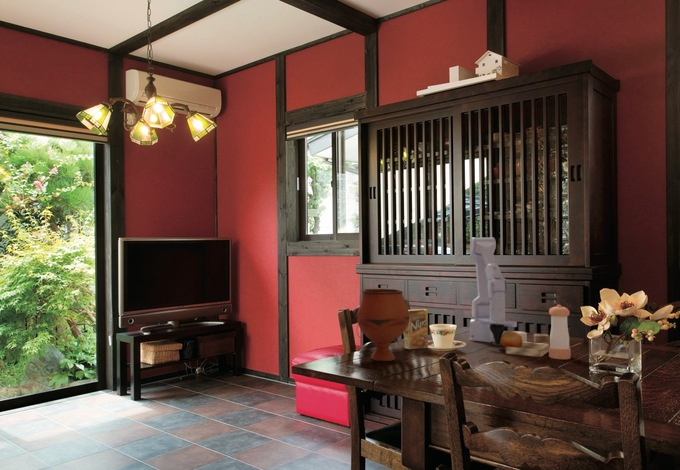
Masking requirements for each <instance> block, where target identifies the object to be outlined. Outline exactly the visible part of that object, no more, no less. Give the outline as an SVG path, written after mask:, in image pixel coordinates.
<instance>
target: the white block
mask: <svg viewBox="0 0 680 470" xmlns="http://www.w3.org/2000/svg"><path fill="white" fill-rule="evenodd" d="M513 332H516V333H518V334H519V335H520V336H521V337H522V342H528V341H527V339H528V337H527V335H528V334H527V332H526V331H517V330H515V331H513Z"/></svg>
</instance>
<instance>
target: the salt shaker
mask: <svg viewBox="0 0 680 470" xmlns="http://www.w3.org/2000/svg"><path fill="white" fill-rule="evenodd" d="M548 310H549V311H548V313H549V315H550V318H551V319H550V321H551V327H550V334H549V351H548V357H549V358H551V359H555V360H570V359H571V355H572V354H571V347H570V336H569V329H568V317H569V316H570V313H571V312H570V310H569V309H568V308H567V307H565V306H562V305H561V304H557V305H556V306H553V307H550V308H549V309H548Z"/></svg>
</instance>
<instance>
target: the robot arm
mask: <svg viewBox="0 0 680 470" xmlns="http://www.w3.org/2000/svg"><path fill="white" fill-rule="evenodd" d="M469 242H470V243H469V252H470V257H471V258H473V259H474V263H475V272H476V273H475V275H476V289H477V297H475V298H474V299H473V300H472V301H471V309H470V311H471V316H472V318H471V319H470V321H469V339H468V340H469V341H474V342H482V343H483V342H484V343H493V336H494V339H495V344H500V339H501V336H502V334H503V333H504V332H505V329H506V327H512V328H517V327H518V321H514V320H506V293H507V291H508V281H507V280H506V278H505V277H504V276H502V272H501V269H500V266H499V265H498V264H496V260H495V256H494V255H495V254H494V253H495V250H496V247H497V243H496V242H497V241H496V238H495V237H492V236H491V237H471V239H470V241H469Z"/></svg>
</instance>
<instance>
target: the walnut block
mask: <svg viewBox="0 0 680 470" xmlns="http://www.w3.org/2000/svg"><path fill="white" fill-rule="evenodd" d="M533 343H543V344H549V345H550V335H549V334H547V333H533Z"/></svg>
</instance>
